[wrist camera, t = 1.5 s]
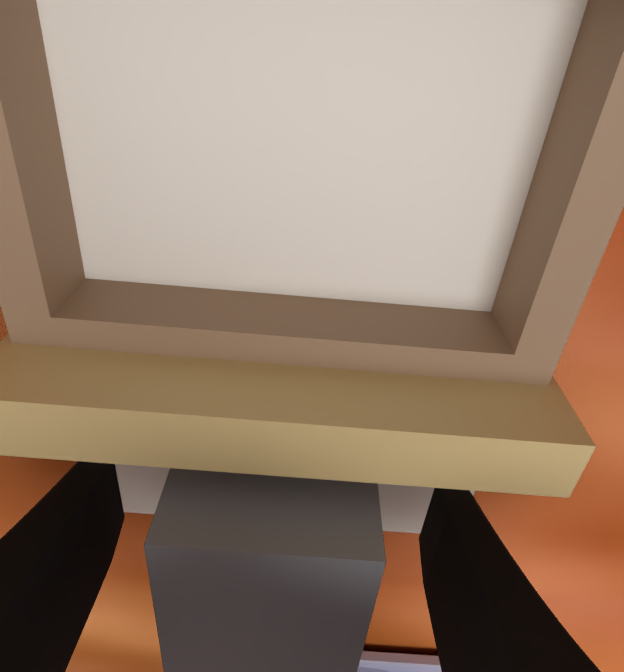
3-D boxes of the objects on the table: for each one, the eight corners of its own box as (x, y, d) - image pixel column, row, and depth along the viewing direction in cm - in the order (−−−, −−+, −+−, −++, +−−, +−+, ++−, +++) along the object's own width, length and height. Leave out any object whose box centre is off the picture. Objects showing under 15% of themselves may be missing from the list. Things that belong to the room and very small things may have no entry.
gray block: (345, 527, 14) (351, 693, 10) (204, 516, 14) (165, 681, 10) (368, 398, 11) (386, 561, 8) (198, 385, 11) (143, 544, 8)
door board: (450, 506, 15) (486, 653, 11) (102, 480, 15) (35, 622, 11) (643, -57, 8) (887, -107, 4) (-21, -123, 8) (-302, -232, 4)
